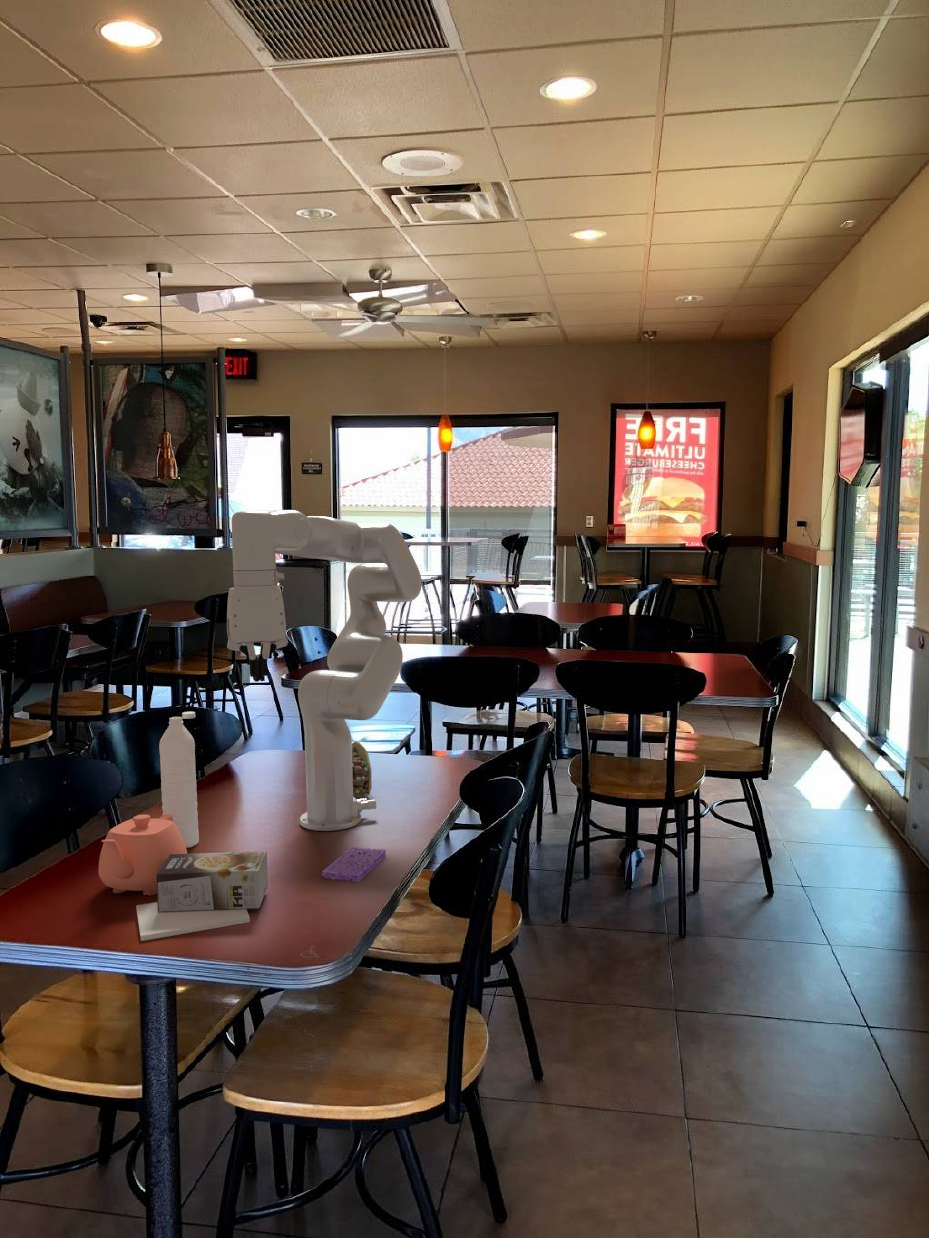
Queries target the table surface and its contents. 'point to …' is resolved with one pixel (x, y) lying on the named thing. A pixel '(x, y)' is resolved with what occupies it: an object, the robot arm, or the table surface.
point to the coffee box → (212, 881)
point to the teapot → (138, 853)
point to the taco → (361, 771)
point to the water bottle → (180, 778)
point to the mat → (184, 920)
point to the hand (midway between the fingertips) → (258, 680)
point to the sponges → (354, 864)
